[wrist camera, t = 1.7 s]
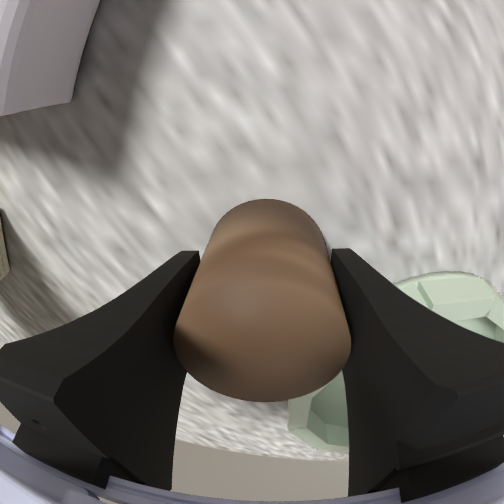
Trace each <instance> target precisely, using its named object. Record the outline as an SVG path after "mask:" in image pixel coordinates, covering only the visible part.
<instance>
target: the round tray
mask: <svg viewBox="0 0 504 504" xmlns="http://www.w3.org/2000/svg"><path fill="white" fill-rule="evenodd" d="M393 285H395V286H396V287H397V288H399V289H400V290H402V291H403V292H404V293H406V294H407V295H408V296H410V297H411V298H413V299H414V300H416V301H417V302H419V303H420V304H422V305H424V306H425V307H427V308H428V309H430V310H432V311H433V312H435V313H437V314H439V315H440V316H442V317H444V318H446V319H448V320H450V321H452V322H454V323H456V324H458V325H460V326H462V327H464V328H466V329H468V330H471V331H473V332H476V333H478V334H480V335H483V336H485V337H488V338H491V339H494V340H497V341H500V342H503V343H504V297H503V296H502V295H501V294H500V293H499V292H497V290H496V289H495V288H494V287H493V286H492V284H491V283H489V282H488V281H486V280H485V279H484V278H482V277H479V276H477V275H474V274H471V273H466V272H460V271H443V272H435V273H428V274H424V275H419V276H415V277H411V278H408V279H405V280H402V281H400V282H397V283H394V284H393ZM288 429H289V431H290V432H291V433H292V434H294V435H295V436H297V437H298V438H299V439H301V440H302V441H304V442H305V443H307V444H308V445H309V446H311V447H312V448H316V449H317V450H325V451H332V452H341V453H349V432H348V415H347V403H346V393H345V384H344V378H343V373H342V370H341V371H340V373H339V374H338V375H337V376H336V377H335V378H334V379H333V380H332V381H330V382H329V383H328V384H326V385H325V386H323V387H322V388H320V389H318V390H316V391H314V392H312V393H310V394H307V395H304V396H302V397H298V398H294V399H290V400H288Z"/></svg>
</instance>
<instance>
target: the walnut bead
mask: <svg viewBox="0 0 504 504" xmlns="http://www.w3.org/2000/svg"><path fill="white" fill-rule="evenodd" d="M173 344H174V349H175V353H176V355H177V357H178V360H179V361H180V363H181V364H182V366H183V367H184V368H185V370H186V371H187V372H188V373H189V374H190V375H191V376H192V377H193V378H194V379H196V380H197V381H198V382H200V383H201V384H203V385H204V386H206V387H208V388H209V389H211V390H214V391H216V392H218V393H220V394H223V395H226V396H229V397H232V398H236V399H241V400H246V401H255V402H275V401H284V400H290V399H294V398H298V397H302V396H304V395H307V394H310V393H312V392H314V391H316V390H318V389H320V388H322V387H323V386H325V385H326V384H328V383H329V382H330V381H332V380H333V379H334V378H335V377H336V376H337V375H338V374H339V373H340V371H341V370H342V369H343V368H344V366H345V364H346V362H347V360H348V358H349V355H350V350H351V336H350V332H349V328H348V324H347V320H346V316H345V313H344V309H343V305H342V301H341V298H340V294H339V290H338V287H337V283H336V280H335V276H334V273H333V269H332V266H331V263H330V259H329V256H328V253H327V249H326V246H325V243H324V240H323V236H322V233H321V231H320V229H319V227H318V226H317V224H316V223H315V221H314V220H313V219H312V218H311V217H310V216H309V215H308V214H307V213H306V212H305V211H303V210H302V209H300V208H298V207H297V206H295V205H292V204H290V203H287V202H284V201H280V200H274V199H259V200H253V201H248V202H246V203H243V204H240V205H238V206H236V207H234V208H233V209H231V210H230V211H229V212H227V213H226V214H225V215H224V216H223V217H222V218H221V219H220V221H219V222H218V223H217V225H216V227H215V228H214V230H213V233H212V235H211V238H210V240H209V242H208V245H207V247H206V250H205V252H204V254H203V257H202V259H201V262H200V264H199V267H198V269H197V272H196V274H195V277H194V279H193V282H192V284H191V287H190V289H189V292H188V294H187V297H186V300H185V302H184V305H183V307H182V310H181V312H180V315H179V318H178V320H177V323H176V326H175V329H174V334H173Z"/></svg>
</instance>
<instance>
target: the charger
mask: <svg viewBox="0 0 504 504" xmlns="http://www.w3.org/2000/svg"><path fill="white" fill-rule="evenodd" d="M99 2H100V0H0V116H4V115H10V114H14V113H18V112H23V111H27V110H32V109H36V108H41V107H46V106H52V105H57V104H63V103H69V102H71V99H72V94H73V89H74V85H75V80H76V76H77V72H78V68H79V64H80V60H81V56H82V53H83V49H84V46H85V43H86V39H87V36H88V33H89V30H90V27H91V24H92V21H93V18H94V16H95V13H96V10H97V8H98V5H99Z"/></svg>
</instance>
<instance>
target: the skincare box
mask: <svg viewBox="0 0 504 504" xmlns="http://www.w3.org/2000/svg"><path fill="white" fill-rule="evenodd" d="M9 271H10V268H9V264H8V259H7V254H6V249H5V243H4V237H3V232H2V225H1V219H0V280H1V279H3V278H4V277H5V276H6V275H7V274H8V273H9Z"/></svg>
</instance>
